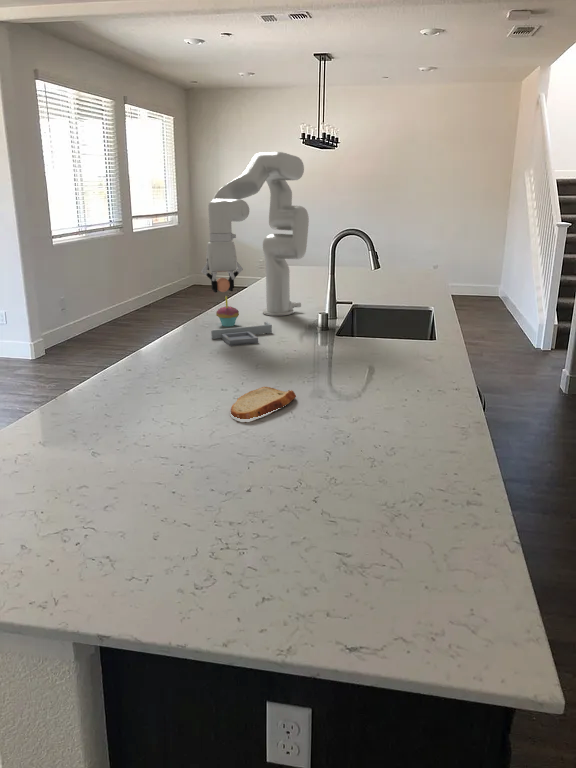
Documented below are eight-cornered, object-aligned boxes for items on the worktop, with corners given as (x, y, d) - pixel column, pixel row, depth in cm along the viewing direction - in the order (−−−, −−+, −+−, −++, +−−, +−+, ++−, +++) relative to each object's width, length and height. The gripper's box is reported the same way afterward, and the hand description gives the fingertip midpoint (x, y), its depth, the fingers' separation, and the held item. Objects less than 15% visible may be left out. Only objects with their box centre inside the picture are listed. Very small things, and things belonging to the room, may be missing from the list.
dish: (249, 336, 225) (249, 331, 224) (258, 343, 216) (258, 337, 215) (221, 339, 221) (221, 334, 221) (229, 345, 212) (229, 340, 212)
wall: (266, 329, 234) (266, 321, 233) (271, 333, 229) (271, 324, 228) (207, 335, 227) (207, 326, 226) (212, 338, 222) (211, 330, 221)
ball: (228, 290, 227) (227, 276, 226) (231, 292, 223) (231, 278, 221) (214, 291, 225) (213, 277, 224) (217, 293, 221) (217, 279, 219)
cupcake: (238, 327, 238) (237, 295, 234) (215, 327, 238) (213, 295, 234) (240, 322, 246) (239, 291, 242) (218, 322, 246) (216, 291, 242)
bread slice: (234, 425, 146) (233, 410, 145) (222, 400, 163) (221, 386, 162) (309, 417, 151) (309, 402, 149) (290, 393, 167) (290, 380, 166)
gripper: (241, 236, 224) (243, 288, 230) (193, 238, 219) (196, 291, 225) (248, 238, 218) (249, 291, 223) (198, 240, 212) (201, 294, 218)
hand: (223, 290), depth 224 cm, fingers closed on ball, 4 cm apart
